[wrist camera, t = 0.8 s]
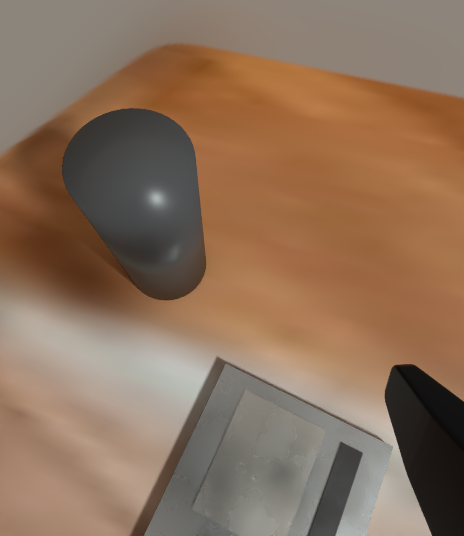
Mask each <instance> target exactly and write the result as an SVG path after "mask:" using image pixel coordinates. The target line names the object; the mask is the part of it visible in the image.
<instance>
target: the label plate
mask: <svg viewBox="0 0 464 536" xmlns="http://www.w3.org/2000/svg"><path fill="white" fill-rule="evenodd" d="M392 449H393V446H391V445H389V444H387V443H385V442H383V441H381V440H379V439H377V438H375V437H373V436H371V435H369V434H367V433H365V432H363V431H361V430H359V429H357V428H355V427H353V426H351V425H349V424H347V423H345V422H343V421H341V420H338V419H336V418H334V417H332V416H330V415H328V414H326V413H324V412H322V411H320V410H318V409H316V408H314V407H312V406H310V405H308V404H306V403H304V402H302V401H300V400H298V399H296V398H294V397H292V396H290V395H288V394H286V393H284V392H282V391H280V390H278V389H276V388H274V387H272V386H270V385H268V384H266V383H264V382H262V381H260V380H258V379H256V378H254V377H252V376H250V375H248V374H246V373H244V372H242V371H240V370H238V369H236V368H234V367H232V366H230V365H228V364H225V366H224V368H223V370H222V372H221V374H220V377H219V379H218V381H217V383H216V385H215V387H214V389H213V391H212V393H211V396H210V398H209V400H208V402H207V404H206V406H205V408H204V410H203V412H202V414H201V417H200V419H199V421H198V423H197V425H196V427H195V429H194V431H193V433H192V435H191V438H190V440H189V442H188V444H187V446H186V448H185V450H184V452H183V454H182V457H181V459H180V461H179V463H178V465H177V467H176V469H175V471H174V473H173V475H172V478H171V480H170V482H169V484H168V486H167V488H166V490H165V492H164V494H163V497H162V499H161V501H160V503H159V505H158V507H157V509H156V511H155V513H154V515H153V518H152V520H151V522H150V524H149V526H148V528H147V530H146V532H145V534H144V536H365V535H366V532H367V529H368V526H369V522H370V519H371V516H372V513H373V510H374V506H375V503H376V500H377V497H378V494H379V490H380V487H381V484H382V481H383V478H384V474H385V471H386V468H387V465H388V461H389V458H390V455H391V452H392Z"/></svg>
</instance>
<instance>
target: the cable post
mask: <svg viewBox="0 0 464 536" xmlns="http://www.w3.org/2000/svg"><path fill="white" fill-rule="evenodd" d="M62 174H63V180H64V183H65V186H66V189H67V190H68V192H69V194H70V196H71V197H72V198H73V200H74V201H75V203H76V204H77V205H78V207H79V208H80V209H81V211H82V212H83V214H84V215H85V216H86V218H87V219H88V220H89V222H90V223H91V224H92V226H93V227H94V229H95V230H96V231H97V233H98V234H99V235H100V237H101V238H102V240H103V241H104V242H105V244H106V245H107V246H108V248H109V249H110V251H111V252H112V253H113V255H114V256H115V257H116V259H117V260H118V261H119V263H120V264H121V266H122V267H123V268H124V270H125V271H126V272H127V274H128V275H129V277H130V278H131V279H132V281H133V282H134V283H135V285H136V286H137V287H138V289H139V290H140V291H142V292H143V293H144V294H146V295H147V296H149V297H152V298H154V299H158V300H174V299H178V298H181V297H183V296H185V295H187V294H189V293H190V292H192V291H193V290H194V289H195V288H196V287H197V286H198V285H199V283H200V282H201V280H202V278H203V276H204V273H205V269H206V256H205V246H204V236H203V226H202V217H201V207H200V197H199V187H198V177H197V167H196V158H195V151H194V148H193V144H192V142H191V140H190V138H189V136H188V135H187V133H186V132H185V131H184V130H183V129H182V127H181V126H180V125H178V124H177V123H176V122H175V121H173V120H172V119H170V118H169V117H167V116H165V115H163V114H160V113H158V112H155V111H151V110H146V109H133V108H130V109H121V110H116V111H112V112H108V113H105V114H103V115H101V116H98V117H97V118H95V119H93V120H91V121H90V122H88V123H87V124H86V125H84V126H83V127H82V128H81V129H80V130H79V131H78V132H77V133H76V134H75V136H74V137H73V138H72V140H71V141H70V143H69V145H68V147H67V149H66V151H65V154H64V158H63V164H62Z"/></svg>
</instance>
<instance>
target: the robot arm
mask: <svg viewBox="0 0 464 536" xmlns="http://www.w3.org/2000/svg"><path fill="white" fill-rule="evenodd" d="M385 402H386V406H387V409H388V412H389V416H390V419H391V423H392V426H393V429H394V433H395V436H396V439H397V443H398V446H399V449H400V453H401V456H402V460H403V463H404V466H405V469H406V472H407V475H408V478H409V480H410V483H411V485H412V488H413V490H414V493H415V495H416V498H417V500H418V502H419V505H420V507H421V510H422V512H423V515H424V517H425V519H426V522H427V524H428V527H429V529H430V532H431V534H432V536H464V401H462V400H461V399H460V398H458V397H457V396H456V395H454V394H453V393H452V392H450V391H449V390H448V389H446V388H445V387H444V386H442V385H441V384H440V383H438V382H437V381H436V380H434V379H433V378H432V377H430V376H429V375H428V374H426V373H425V372H424V371H422V370H421V369H420V368H418V367H417V366H415V365H412V364H403V365H394V366H393V367H392V369H391V372H390V375H389V379H388V382H387V386H386V389H385Z"/></svg>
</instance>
